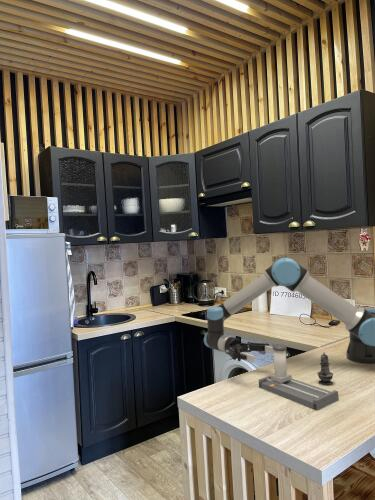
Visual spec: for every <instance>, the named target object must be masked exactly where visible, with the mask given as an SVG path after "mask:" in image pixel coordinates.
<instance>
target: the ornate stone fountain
mask: <svg viewBox="0 0 375 500" xmlns="http://www.w3.org/2000/svg"><path fill="white" fill-rule="evenodd" d="M319 365H320V371H317V376H318V378H319V381H318V384H319V385H322V386H327V387H328V386H333V384H334V382H333V381H332V379H333V376H334V373H333V372H331V371H330V361H329V356H328V354H326V352H325V351H324V352H323V353H322V354H321V355H320V363H319Z"/></svg>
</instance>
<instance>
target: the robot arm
mask: <svg viewBox="0 0 375 500" xmlns="http://www.w3.org/2000/svg"><path fill="white" fill-rule="evenodd" d="M309 273H310V272H309V270H308V269H307V268H306V267H304V266H302V265H301V264H299V263H298V262H296V260H294V259H292V258H291V257H286V256H285V257H284V256H283V257H280V258H278V259H276V260H275V261H274V262H273V263H272V264H271V265H270V266H269V267H268V268H267V269H265V270H264V273H263V274H262V275H260V276H259V277H257V278H255V279H254V280H253V281H252V282H249V284H247V285H246V286H245V287H243V288H242V289H240V290H239V291H237V292H236V293H235V294H233V295H232V296H230V297H229V298H228V299H226V300H225V301H223V303H221V304H219V305H218V306H212V307H211V306H210V307H208V308H206V319H207V320H206V321H207V332H206V333H204V337H203V343H204V345H205V346H206V347H207V348H210V349H211V350H215V351H219V352H221V353H225V354H226V355H229V356H230V358H231V359H232V360H233V361H236V360H237V362H241V361H242V360H243V361H246V362H250V363H252V364H254V363H255V355H254V354H250V353H251V352H264V353H267V354H270V355H273V356H274V350H273V346H270V344H269V343H267V342H266V343H264V342H263V343H262V342H252V341H248V342H242V341H241V340H240V338H238V337H234V336H230V335H227V334H225V328H224V327H225V326H224V325H225V323H224V322H225V321H226V320H227V319H229V318H230V317H232V316H233V315H234V314H236V313H237V312H239V311H240V310H241V309H243V308H244V307H246V306H247V305H249V304H250V303H252V302H253V301H255V300H256V299H257V298H259V297H260V296H262V295H263V294H265V293H267V292H268V291H269V290H271V289H272V288H274V287H275V288H276V287H279V286H280V285H281V286H283V287H285V288H286V289H288V290H289V291H291V292H292V293H295V292H298V293H300V295H302V296H304V297H305V298H307V299H308V300H309V301H311V302H312V303H314V304H315V305H317V306H318V307H320V308H321V309H323V310H324V311H326V312H327V313H328V314H329V315H331V316H333V317H334V318H335V319H337V320H338V321H340V322H341V323H343V324H344V325H345V326H344V327H345V329H346V331H347V332H349V342H348V346H347V349H346V352H345V354H346V359H348V360H350V361H353V362H356V363H363V364H375V308H369V307H368V308H367V307H357V306H355V305H353V304H352V303H351V302H349V301H347V300H346V299H344V298H343V297H341V296H340V294H337V293H336V292H334V290H331V289H330V288H328V287H327V286H325V285H324V284H323V283H321V282H319V281H318V280H316V279H315V278H314V277H312V276H310V274H309Z"/></svg>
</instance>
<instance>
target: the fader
mask: <svg viewBox="0 0 375 500" xmlns="http://www.w3.org/2000/svg"><path fill="white" fill-rule="evenodd" d="M272 347H273V350H274V355H273V361H274V373H273V374H270V375H271V380H274V381H276V382H279V383H283V382H285V381H288V380H291V379H292V377H293V376H292V374H290V373H288V370H287V369H288V368H287V349H288V348H287V347H288V346H287V345H286V344H280V343H279V344H273V345H272Z"/></svg>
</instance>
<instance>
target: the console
mask: <svg viewBox="0 0 375 500" xmlns="http://www.w3.org/2000/svg"><path fill="white" fill-rule="evenodd" d="M271 375H272V374H270V375H267V376H264V377H261V378H259V379H258V388H259V389H262V390H265V391H268V392H271V393H272V394H274V395H278V396H280V397H282V398H285V399H288V400H290V401H292V402H295V403H298V404H300V405H303V406H304V407H307V408H310V409H313V410H314V411H318V410H321V409H323V408H325V407H326V406H329V405H331V404H333V403H335V402H337V401H340V399H339V390H332V391H330V390H327V389H324V388H321V387H319V386H316V385H312V384H309V383H306V382H303V381H300V380H298V379H296V378H295V379H294V378H292V379H291V380H288V381H285V382H283V383H279V382H276V381H274V380H271Z"/></svg>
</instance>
